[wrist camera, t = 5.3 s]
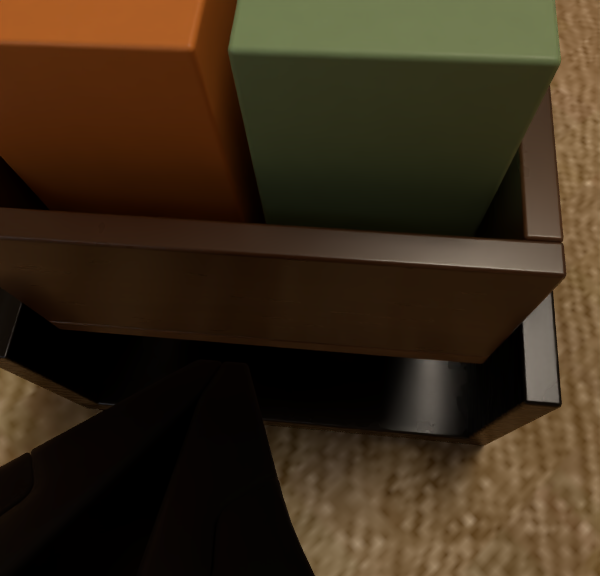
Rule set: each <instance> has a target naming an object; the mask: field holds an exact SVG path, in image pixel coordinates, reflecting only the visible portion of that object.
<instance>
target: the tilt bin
mask: <svg viewBox="0 0 600 576" xmlns="http://www.w3.org/2000/svg"><path fill="white" fill-rule="evenodd" d="M562 241H563V228H562V217H561V206H560V195H559V183H558V172H557V161H556V149H555V138H554V127H553V115H552V104H551V93H550V85H549V87H548V89H547V91H546V93H545V95H544V97H543V99H542V101H541V103H540V105H539V107H538V109H537V111H536V113H535V115H534V117H533V119H532V121H531V123H530V125H529V127H528V129H527V131H526V133H525V135H524V137H523V139H522V141H521V143H520V146H519V148H518V150H517V152H516V154H515V156H514V158H513V160H512V162H511V164H510V166H509V168H508V170H507V172H506V174H505V176H504V178H503V180H502V182H501V184H500V186H499V188H498V190H497V192H496V194H495V196H494V198H493V200H492V202H491V204H490V206H489V208H488V210H487V212H486V214H485V216H484V218H483V220H482V222H481V224H480V226H479V228H478V230H477V232H476V234H475V236H474V237H466V236H450V235H434V234H418V233H402V232H387V231H371V230H355V229H339V228H323V227H307V226H291V225H275V224H259V223H243V222H227V221H212V220H196V219H180V218H164V217H148V216H132V215H116V214H100V213H84V212H68V211H53V210H49V209H48V208H47V206H46V205H45V204H44V203H43V202H42V201H41V200H40V199H39V198H38V197H37V195H36V194H35V193H34V192H33V191H32V190H31V189H30V188H29V187H28V186H27V184H26V183H25V182H24V181H23V180H22V179H21V178H20V177H19V176H18V175H17V173H16V172H15V171H14V170H13V169H12V168H11V167H10V166H9V165H8V164H7V162H6V161H5V160H4V159H3V158H2V157H1V156H0V287H1V288H2V289H4V290H5V291H7V292H8V293H9V294H11V295H12V296H14V297H15V298H16V299H18V300H19V301H21V302H22V303H24V304H25V305H26V306H28V307H29V308H31V309H32V310H34V311H35V312H36V313H38V314H39V315H41V316H42V317H43V318H45V319H46V320H48V321H49V322H50V323H52V324H53V325H55V326H56V327H57V328H59V329H64V330H76V331H88V332H100V333H112V334H124V335H136V336H149V337H161V338H173V339H185V340H197V341H209V342H221V343H234V344H246V345H258V346H270V347H282V348H294V349H307V350H319V351H331V352H343V353H355V354H367V355H379V356H392V357H404V358H416V359H428V360H440V361H452V362H464V363H477V364H483V363H484V362H485V361H486V360H487V359H488V358H489V356H491V355H492V354H493V352H494V351H495V350H496V349H497V348H498V347H499V346H500V345H501V344H502V343H503V342H504V341H505V340H506V339H507V338H508V337H509V336H510V335H511V334H512V333H513V332H514V331H515V329H516V328H517V327H518V326H519V325H520V324H521V323H522V322H523V321H524V320H525V319H526V318H527V317H528V316H529V315H530V314H531V313H532V312H533V311H534V310H535V309H536V308H537V306H538V305H539V304H540V303H541V302H542V301H543V300H544V299H545V298H546V297H547V296H548V295H549V294H550V293H551V292H552V291H553V290H554V289H555V288H556V287H557V286H558V284H559V283H560V282H561V281H562V280H563V279H564V278H565V277H566V265H565V254H564V245H563V243H562Z"/></svg>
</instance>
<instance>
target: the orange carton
mask: <svg viewBox="0 0 600 576" xmlns="http://www.w3.org/2000/svg"><path fill="white" fill-rule="evenodd" d="M236 4H237V0H0V156H1V157H2V158H3V159H4V160H5V161H6V162H7V164H8V165H9V166H10V167H11V168H12V169H13V170H14V171H15V172H16V173H17V175H18V176H19V177H20V178H21V179H22V180H23V181H24V182H25V183H26V184H27V186H28V187H29V188H30V189H31V190H32V191H33V192H34V193H35V194H36V195H37V197H38V198H39V199H40V200H41V201H42V202H43V203H44V204H45V205H46V206H47V208H48V209H49V210H53V211H68V212H84V213H100V214H116V215H132V216H148V217H164V218H180V219H196V220H212V221H227V222H243V223H259V224H266V221H265V217H264V212H263V208H262V203H261V199H260V194H259V190H258V185H257V181H256V176H255V172H254V167H253V163H252V158H251V154H250V149H249V145H248V140H247V136H246V131H245V127H244V122H243V118H242V113H241V109H240V104H239V100H238V95H237V91H236V86H235V82H234V78H233V73H232V69H231V64H230V60H229V55H228V51H227V50H228V45H229V40H230V35H231V30H232V25H233V20H234V15H235V9H236Z"/></svg>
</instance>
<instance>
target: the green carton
mask: <svg viewBox="0 0 600 576" xmlns="http://www.w3.org/2000/svg"><path fill="white" fill-rule="evenodd" d="M227 51H228V55H229V60H230V64H231V69H232V73H233V78H234V82H235V86H236V91H237V95H238V100H239V104H240V109H241V113H242V118H243V122H244V127H245V131H246V136H247V140H248V145H249V149H250V154H251V158H252V163H253V167H254V172H255V176H256V181H257V185H258V190H259V194H260V199H261V203H262V208H263V212H264V217H265V221H266V224H275V225H291V226H307V227H323V228H339V229H355V230H371V231H387V232H402V233H418V234H434V235H450V236H466V237H474V236H475V234H476V232H477V230H478V228H479V226H480V224H481V222H482V220H483V218H484V216H485V214H486V212H487V210H488V208H489V206H490V204H491V202H492V200H493V198H494V196H495V194H496V192H497V190H498V188H499V186H500V184H501V182H502V180H503V178H504V176H505V174H506V172H507V170H508V168H509V166H510V164H511V162H512V160H513V158H514V156H515V154H516V152H517V150H518V148H519V146H520V143H521V141H522V139H523V137H524V135H525V133H526V131H527V129H528V127H529V125H530V123H531V121H532V119H533V117H534V115H535V113H536V111H537V109H538V107H539V105H540V103H541V101H542V99H543V97H544V95H545V93H546V91H547V89H548V87H549V85H550V83H551V81H552V79H553V77H554V75H555V73H556V71H557V69H558V67H559V65H560V63H561V57H560V47H559V37H558V27H557V17H556V7H555V0H237V4H236V9H235V15H234V20H233V25H232V30H231V35H230V40H229V45H228V50H227Z"/></svg>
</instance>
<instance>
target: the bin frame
mask: <svg viewBox="0 0 600 576" xmlns="http://www.w3.org/2000/svg"><path fill="white" fill-rule="evenodd" d="M200 359H202V360H213V361H219V362H221V363H222V364H223V363H224V362H237V363H246V364H247V365H248V366H249V370H250V374H251V378H252V381H253V385H254V389H255V393H256V397H257V400H258V404H259V408H260V412H261V416H262V420H263V423H264V425H272V426H282V427H293V428H303V429H314V430H324V431H335V432H346V433H356V434H367V435H377V436H388V437H398V438H409V439H419V440H430V441H440V442H451V443H461V444H472V445H483V446H484V445H486V444H488V443H490V442H492V441H494V440H496V439H498V438H500V437H502V436H504V435H506V434H508V433H510V432H512V431H514V430H516V429H518V428H520V427H522V426H524V425H526V424H528V423H530V422H532V421H534V420H536V419H537V418H539V417H541V416H543V415H545V414H547V413H549V412H551V411H553V410H555V409H557V408H559V407H561V404H562V401H561V388H560V375H559V362H558V350H557V337H556V324H555V311H554V298H553V291H552V292H551V293H550V294H549V295H548V296H547V297H546V298H545V299H544V300H543V301H542V302H541V303H540V304H539V305H538V306H537V308H536V309H535V310H534V311H533V312H532V313H531V314H530V315H529V316H528V317H527V318H526V319H525V320H524V321H523V322H522V323H521V324H520V325H519V326H518V327H517V328H516V329H515V331H514V332H513V333H512V334H511V335H510V336H509V337H508V338H507V339H506V340H505V341H504V342H503V343H502V344H501V345H500V346H499V347H498V348H497V349H496V350H495V351H494V352H493V354H492V355H491V356H489V358H488V359H487V360H486V361H485V362H484V363H483V364H477V363H464V362H452V361H440V360H428V359H416V358H404V357H392V356H379V355H367V354H355V353H343V352H331V351H319V350H307V349H294V348H282V347H270V346H258V345H246V344H234V343H221V342H209V341H197V340H185V339H173V338H161V337H149V336H136V335H124V334H112V333H100V332H88V331H76V330H64V329H59V328H57V327H56V326H55V325H53V324H52V323H50V322H49V321H48V320H46V319H45V318H43V317H42V316H41V315H39V314H38V313H36V312H35V311H34V310H32V309H31V308H29V307H28V306H26V305H25V304H24V303H22V302H21V301H19V300H18V299H16V298H15V297H14V296H12V295H11V294H9V293H8V292H7V291H5V290H4V289H2V288H1V287H0V368H2V369H4V370H6V371H9V372H11V373H13V374H15V375H17V376H19V377H21V378H24V379H26V380H28V381H30V382H32V383H34V384H37V385H39V386H41V387H43V388H45V389H47V390H49V391H52V392H54V393H56V394H58V395H60V396H62V397H64V398H67V399H69V400H71V401H73V402H75V403H77V404H79V405H82V406H84V407H86V408H91V409H102V410H106V409H108V408H110V407H111V406H113V405H115V404H117V403H119V402H121V401H122V400H124V399H126V398H128V397H130V396H132V395H133V394H135V393H137V392H139V391H141V390H143V389H144V388H146V387H148V386H150V385H152V384H154V383H155V382H157V381H159V380H161V379H163V378H165V377H166V376H168V375H170V374H172V373H174V372H175V371H177V370H179V369H181V368H183V367H185V366H186V365H188V364H190V363H192V362H194V361H196V360H200Z"/></svg>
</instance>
